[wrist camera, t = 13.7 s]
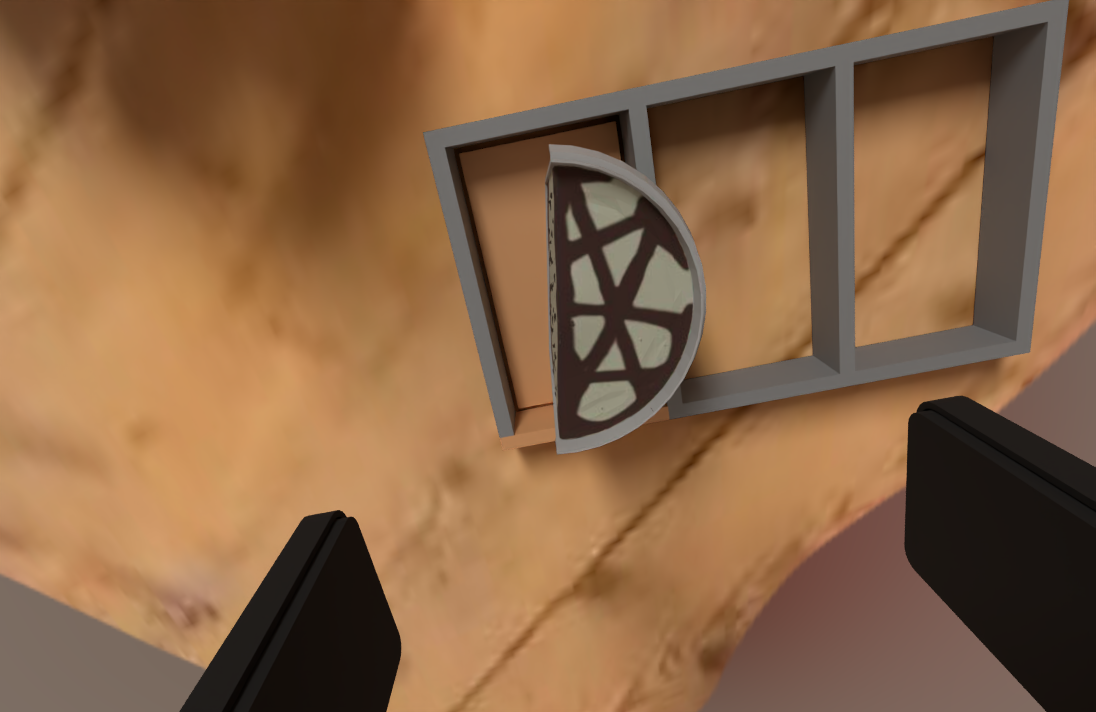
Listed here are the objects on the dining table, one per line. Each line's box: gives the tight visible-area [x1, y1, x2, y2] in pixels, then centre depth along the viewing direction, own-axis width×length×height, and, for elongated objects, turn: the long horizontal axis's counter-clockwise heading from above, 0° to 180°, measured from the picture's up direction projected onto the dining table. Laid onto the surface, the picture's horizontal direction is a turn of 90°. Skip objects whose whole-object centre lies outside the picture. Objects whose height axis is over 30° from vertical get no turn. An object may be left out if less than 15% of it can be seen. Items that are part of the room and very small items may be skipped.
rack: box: [423, 0, 1069, 451], centre depth 29 cm, size 29×17×3 cm, turn 101°
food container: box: [545, 144, 706, 454], centre depth 25 cm, size 12×6×10 cm, turn 1°
